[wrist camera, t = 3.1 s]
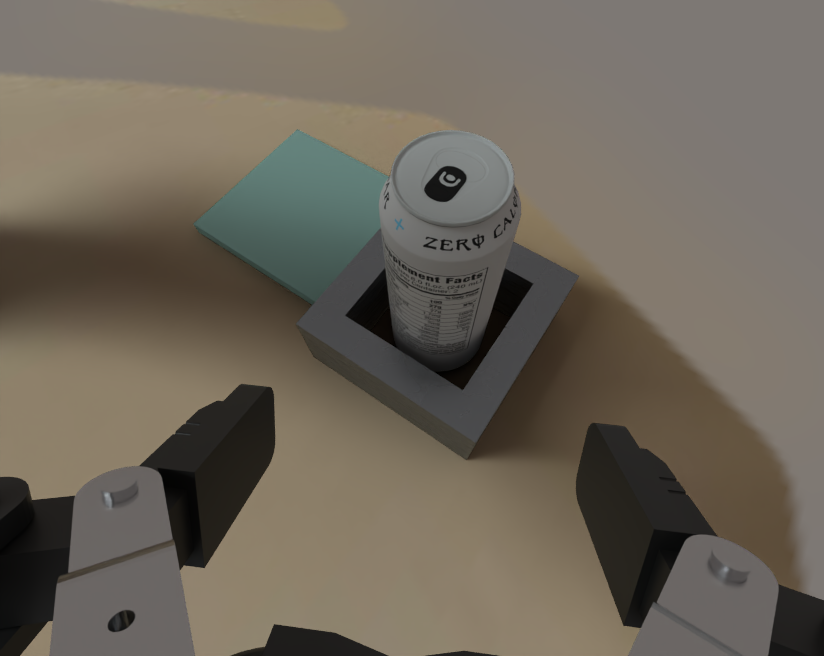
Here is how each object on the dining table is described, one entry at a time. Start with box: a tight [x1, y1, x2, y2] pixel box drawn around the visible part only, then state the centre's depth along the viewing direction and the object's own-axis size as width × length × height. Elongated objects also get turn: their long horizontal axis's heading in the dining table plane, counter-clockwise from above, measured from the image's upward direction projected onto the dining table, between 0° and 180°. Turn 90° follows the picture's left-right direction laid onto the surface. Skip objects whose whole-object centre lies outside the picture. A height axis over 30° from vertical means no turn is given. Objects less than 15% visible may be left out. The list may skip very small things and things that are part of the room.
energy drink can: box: [379, 130, 521, 372], centre depth 25 cm, size 6×6×15 cm
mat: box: [194, 129, 389, 305], centre depth 35 cm, size 12×12×1 cm
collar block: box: [296, 228, 579, 460], centre depth 29 cm, size 12×12×5 cm
